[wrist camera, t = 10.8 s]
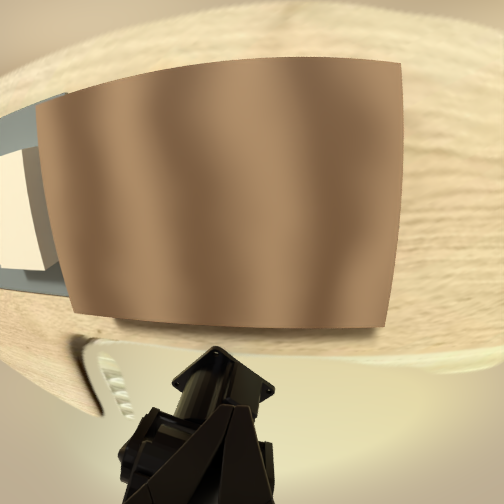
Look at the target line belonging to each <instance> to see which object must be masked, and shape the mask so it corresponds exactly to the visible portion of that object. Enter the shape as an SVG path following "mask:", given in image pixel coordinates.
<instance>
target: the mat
mask: <svg viewBox="0 0 504 504" xmlns="http://www.w3.org/2000/svg"><path fill="white" fill-rule="evenodd" d="M66 94H67V93H62V94H59V95H56V96H53V97H51V98H48V99H45V100H43V101H40V102H37V103H35V104H32V105H30V106H27V107H25V108H22V109H20V110H18V111H15V112H13V113H11V114H8V115H6V116H4V117H2V118H0V156H3V155H6V154H9V153H12V152H15V151H18V150H21V149H26V148H31V147H36V146H38V137H37V124H36V106H35V105H38V104H41V103H43V102H46V101H49V100H52V99H54V98H57V97H60V96H63V95H66ZM0 288H4V289H11V290H19V291H27V292H35V293H43V294H52V295H62V296H69V295H68V291H67V288H66V285H65V281H64V278H63V274H62V270H61V267H60V263H59V261H58V262H56V263H55V264H54V265H52V266H51V267H49V268H48V269H47V270H45V271H43V270H26V269H9V268H1V265H0Z"/></svg>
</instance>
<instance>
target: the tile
mask: <svg viewBox="0 0 504 504" xmlns="http://www.w3.org/2000/svg"><path fill="white" fill-rule="evenodd" d="M58 261H59V259H58V255H57V251H56V247H55V243H54V239H53V234H52V230H51V225H50V220H49V215H48V210H47V204H46V199H45V193H44V186H43V180H42V173H41V165H40V157H39V148H38V146H36V147H31V148H26V149H21V150H18V151H15V152H12V153H9V154H6V155H3V156H0V265H1V268H9V269H26V270H43V271H45V270H47V269H48V268H49V267H51V266H52V265H54V264H55V263H56V262H58Z"/></svg>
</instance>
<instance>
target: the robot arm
mask: <svg viewBox="0 0 504 504" xmlns="http://www.w3.org/2000/svg"><path fill="white" fill-rule="evenodd" d="M214 352H217V353H218V354H217V353H214ZM178 383H179V384H178ZM172 385H173V386H174V387H175V388H176V389H178V390H179V391H180V392H182V396H181V398H180V400H179V403H178V405H177V408H176V411H175V413H174V415H173V416H172V415H170V414H167V413H164V412H162V411H160V409H157V408H155V407H152V409H151V410H150V412H149V414H146V415H145V417H142V419H141V421H140V423H139V425H138V428H137V429H136V431H135V433H134V434H133V436H132V437H131V438H130V439H129V440H128V441H127V442H126V443H125V444H124V445H123V447H122V448H121V449H120V450H119V453H118V458H119V460H120V462H121V475H120V480H121V481H122V482H124V483H126V484H128V485H127V489H126V492H125V495H124V499H123V502H122V504H275V503H274V501H273V492H274V485H275V484H274V483H275V480H274V479H275V478H274V463H273V446H272V443H270V442H266V441H265V442H260V441H258V439H257V435H256V431H255V427H254V422H255V418H257V414H258V408H259V403H261V402H262V401H264V400H265V399H267V398H269V397H270V396H272V395H273V394H274V393H275V387H274V386H273V385H271V384H270V383H269V382H267V381H266V380H264V379H263V378H261V377H260V376H259V375H257V374H256V373H254V372H253V371H251V370H250V369H249V368H247V367H246V366H245V365H243V364H242V363H240V362H239V361H238V360H236V359H235V358H234V357H232V356H231V355H230V354H228V353H227V352H226V351H224V350H223V349H222V348H220V347H218V346H213V347H211V348H210V349H209V350H208V351H207V352H205V353H204V354H203V355H202V356H201V357H199V358H198V359H197V360H196V361H195V362H193V363H192V364H191V365H190V366H188V367H187V368H186V369H185V370H184V371H182V372H181V373H180V374H179V375H178V376H176V377H175V378H174V379H173V381H172ZM269 390H270V391H269Z"/></svg>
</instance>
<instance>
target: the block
mask: <svg viewBox="0 0 504 504" xmlns="http://www.w3.org/2000/svg"><path fill="white" fill-rule="evenodd" d="M35 106H36V124H37V137H38V148H39V157H40V165H41V173H42V180H43V186H44V193H45V199H46V204H47V210H48V215H49V220H50V225H51V230H52V234H53V239H54V243H55V247H56V251H57V255H58V259H59V263H60V267H61V270H62V274H63V278H64V281H65V285H66V288H67V291H68V295H69V298H70V301H71V304H72V307H73V310H74V313H79V314H87V315H95V316H103V317H112V318H122V319H132V320H142V321H153V322H165V323H179V324H193V325H210V326H230V327H257V328H369V327H384V326H385V321H386V316H387V310H388V304H389V299H390V293H391V286H392V280H393V273H394V266H395V258H396V250H397V241H398V232H399V221H400V209H401V195H402V177H403V140H404V127H403V90H402V73H401V63H394V62H386V61H376V60H365V59H351V58H331V57H276V58H256V59H242V60H230V61H220V62H212V63H204V64H196V65H189V66H183V67H176V68H171V69H165V70H160V71H154V72H149V73H145V74H140V75H135V76H131V77H127V78H122V79H118V80H114V81H110V82H107V83H103V84H99V85H96V86H92V87H89V88H85V89H82V90H79V91H76V92H72V93H69V94H66V95H63V96H60V97H57V98H54V99H52V100H49V101H46V102H43V103H41V104H38V105H35Z"/></svg>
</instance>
